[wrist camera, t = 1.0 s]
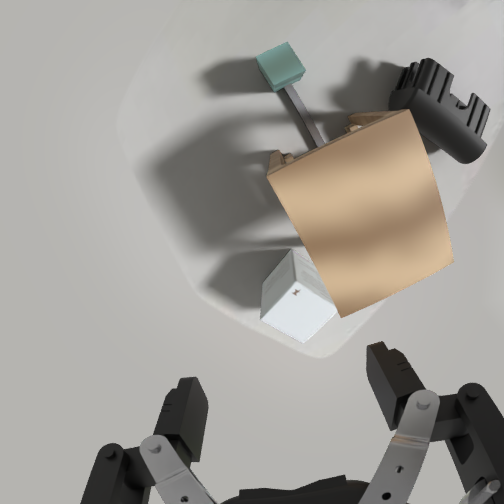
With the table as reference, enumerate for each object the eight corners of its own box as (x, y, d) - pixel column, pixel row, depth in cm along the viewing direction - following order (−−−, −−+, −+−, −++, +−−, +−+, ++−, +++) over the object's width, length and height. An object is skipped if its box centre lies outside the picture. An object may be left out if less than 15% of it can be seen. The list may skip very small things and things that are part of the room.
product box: (261, 282, 36) (257, 320, 29) (291, 246, 33) (295, 279, 27) (299, 306, 37) (303, 345, 30) (330, 273, 34) (341, 309, 28)
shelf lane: (270, 153, 29) (266, 176, 17) (355, 112, 26) (409, 109, 14) (319, 246, 33) (341, 318, 21) (396, 209, 30) (453, 262, 18)
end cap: (379, 114, 26) (405, 114, 20) (400, 63, 23) (429, 53, 17) (445, 158, 27) (478, 170, 21) (464, 110, 24) (498, 113, 18)
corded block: (250, 73, 25) (245, 62, 20) (293, 52, 24) (297, 37, 18) (327, 210, 31) (338, 230, 26) (366, 191, 30) (385, 207, 24)
